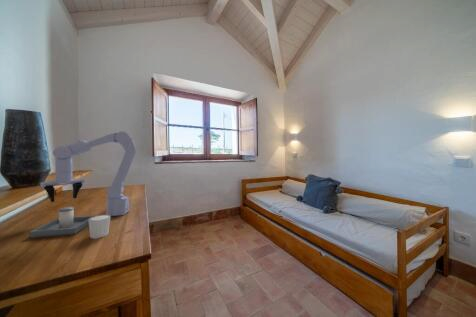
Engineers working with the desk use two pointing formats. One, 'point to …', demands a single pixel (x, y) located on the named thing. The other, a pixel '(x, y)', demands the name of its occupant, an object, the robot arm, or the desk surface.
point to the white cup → (99, 226)
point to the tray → (53, 229)
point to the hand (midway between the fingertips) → (64, 199)
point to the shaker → (66, 217)
